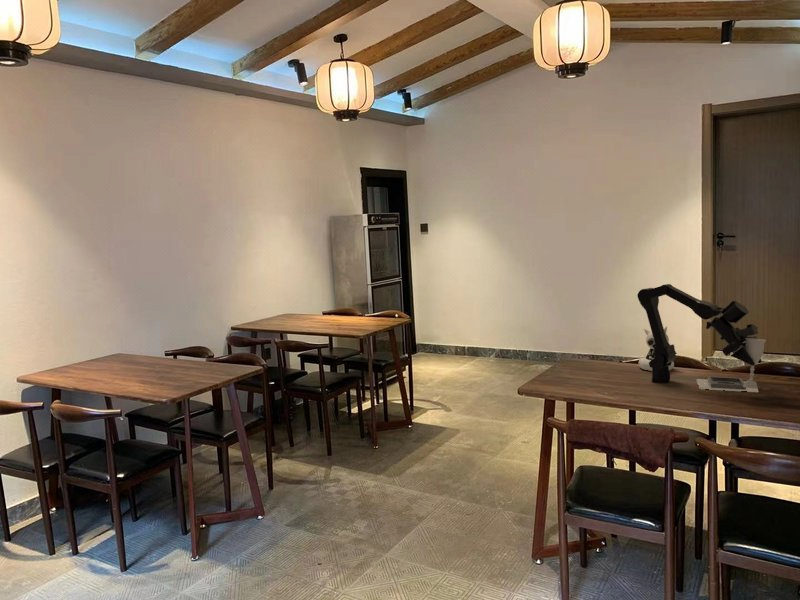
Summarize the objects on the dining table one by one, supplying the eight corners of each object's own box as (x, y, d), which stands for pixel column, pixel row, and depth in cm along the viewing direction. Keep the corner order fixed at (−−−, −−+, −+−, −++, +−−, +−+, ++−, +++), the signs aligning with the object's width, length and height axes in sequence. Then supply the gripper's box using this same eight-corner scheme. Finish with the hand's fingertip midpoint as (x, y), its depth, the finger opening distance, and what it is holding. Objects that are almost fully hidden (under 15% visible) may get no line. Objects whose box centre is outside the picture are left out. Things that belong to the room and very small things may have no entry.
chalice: (764, 390, 216) (769, 340, 216) (744, 388, 217) (749, 339, 217) (756, 386, 224) (761, 338, 223) (736, 384, 225) (741, 337, 224)
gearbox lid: (699, 389, 234) (699, 383, 234) (696, 380, 247) (696, 375, 247) (758, 392, 227) (758, 386, 227) (751, 383, 240) (752, 378, 240)
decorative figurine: (633, 370, 270) (634, 326, 268) (644, 364, 281) (644, 322, 279) (668, 374, 260) (669, 329, 258) (678, 367, 271) (678, 324, 269)
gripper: (732, 320, 216) (765, 354, 208) (753, 314, 227) (785, 346, 220) (709, 339, 223) (740, 372, 215) (730, 332, 234) (760, 364, 227)
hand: (757, 363), depth 219 cm, fingers closed on chalice, 6 cm apart
